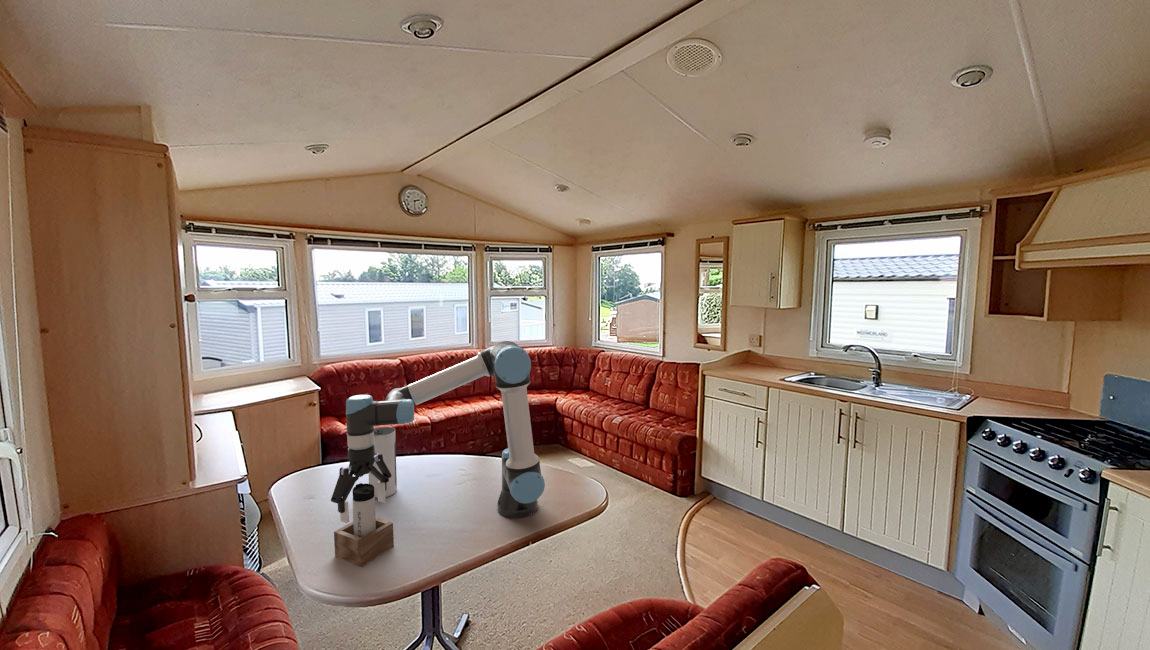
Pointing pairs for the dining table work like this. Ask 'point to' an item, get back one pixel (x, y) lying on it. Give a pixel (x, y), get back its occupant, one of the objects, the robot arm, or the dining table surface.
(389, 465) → the speaker
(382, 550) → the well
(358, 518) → the travel mug
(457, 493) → the dining table surface
